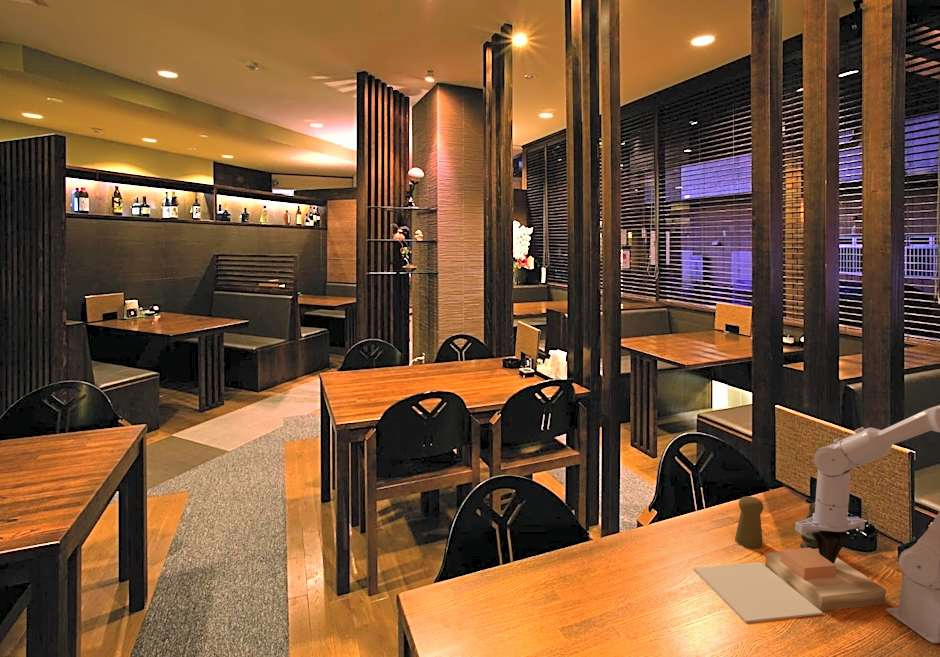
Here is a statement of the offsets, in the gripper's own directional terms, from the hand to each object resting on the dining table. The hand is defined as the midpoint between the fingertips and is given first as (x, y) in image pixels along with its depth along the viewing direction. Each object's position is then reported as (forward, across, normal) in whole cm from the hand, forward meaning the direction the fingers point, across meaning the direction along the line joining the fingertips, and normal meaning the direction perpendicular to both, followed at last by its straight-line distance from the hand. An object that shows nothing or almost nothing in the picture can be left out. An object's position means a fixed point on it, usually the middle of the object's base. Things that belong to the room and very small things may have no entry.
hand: (827, 562), depth 116 cm
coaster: (0, +5, 0) cm, 5 cm away
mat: (+4, +17, +1) cm, 18 cm away
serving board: (+4, +2, +1) cm, 4 cm away
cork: (+4, +6, -17) cm, 18 cm away
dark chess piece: (+4, -7, -12) cm, 15 cm away
